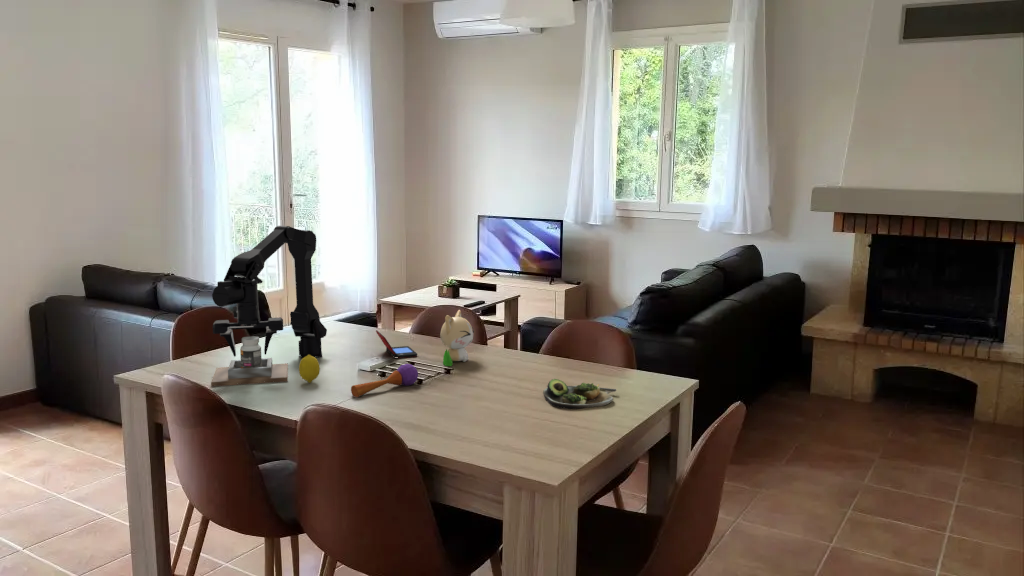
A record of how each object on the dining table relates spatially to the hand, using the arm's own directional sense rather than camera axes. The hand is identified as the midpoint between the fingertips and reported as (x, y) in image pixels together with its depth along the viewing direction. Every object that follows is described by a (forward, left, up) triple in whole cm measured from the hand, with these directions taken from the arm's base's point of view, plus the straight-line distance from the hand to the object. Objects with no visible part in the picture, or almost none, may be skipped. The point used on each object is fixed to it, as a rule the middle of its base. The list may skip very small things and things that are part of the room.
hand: (250, 355), depth 229 cm
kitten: (-60, -3, -6) cm, 60 cm away
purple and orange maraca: (-36, +23, -7) cm, 43 cm away
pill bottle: (0, 0, -5) cm, 5 cm away
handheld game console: (-43, -17, -7) cm, 47 cm away
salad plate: (-82, +44, -7) cm, 93 cm away
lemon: (-16, +11, -6) cm, 20 cm away
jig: (0, 0, -6) cm, 6 cm away
